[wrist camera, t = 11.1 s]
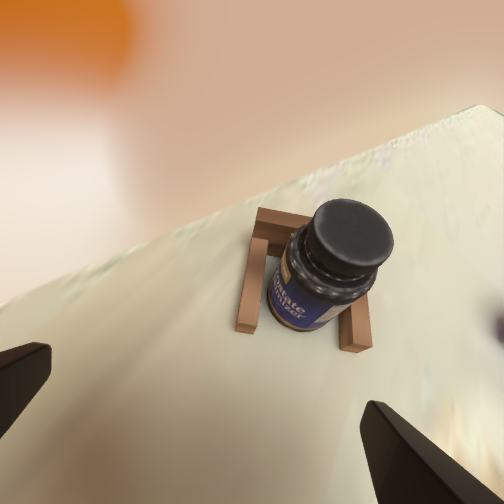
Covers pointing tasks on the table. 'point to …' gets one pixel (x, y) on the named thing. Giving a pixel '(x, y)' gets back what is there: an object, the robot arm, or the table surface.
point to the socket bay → (274, 244)
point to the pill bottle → (329, 264)
